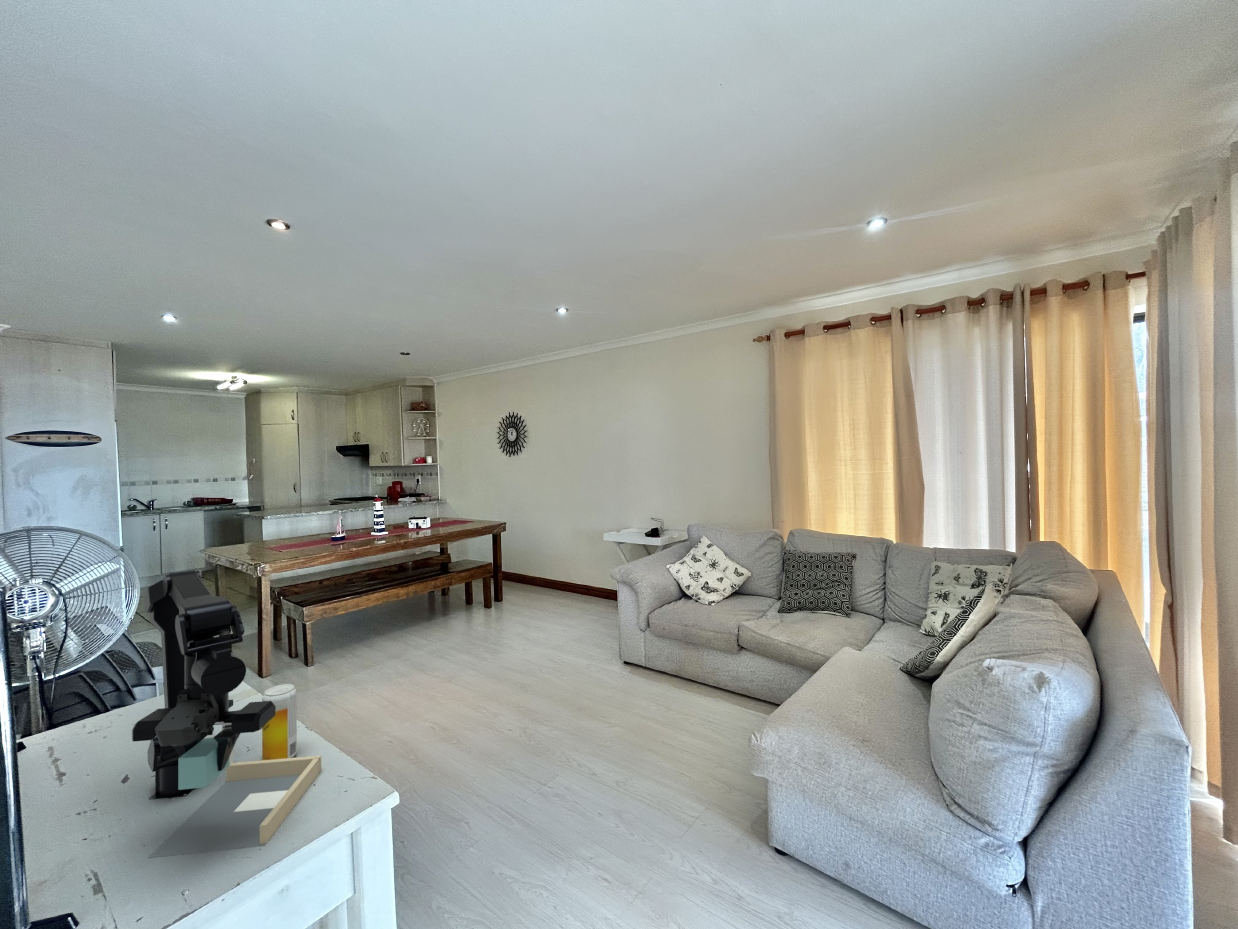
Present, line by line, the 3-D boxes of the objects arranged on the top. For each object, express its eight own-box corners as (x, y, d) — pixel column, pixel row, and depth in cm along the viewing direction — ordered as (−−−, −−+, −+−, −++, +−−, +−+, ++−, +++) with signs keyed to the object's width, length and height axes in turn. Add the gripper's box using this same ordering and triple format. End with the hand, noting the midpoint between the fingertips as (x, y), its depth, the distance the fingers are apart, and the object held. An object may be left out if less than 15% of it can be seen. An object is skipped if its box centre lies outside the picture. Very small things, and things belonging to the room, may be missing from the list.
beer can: (273, 752, 109) (273, 683, 109) (302, 751, 110) (302, 682, 110) (255, 769, 103) (255, 696, 103) (286, 767, 104) (286, 695, 104)
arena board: (147, 861, 79) (147, 838, 79) (229, 781, 99) (229, 763, 99) (264, 849, 81) (264, 827, 81) (321, 773, 101) (321, 755, 101)
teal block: (178, 790, 80) (178, 758, 80) (207, 764, 87) (207, 735, 87) (206, 787, 80) (206, 756, 80) (233, 762, 87) (233, 733, 87)
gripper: (101, 704, 74) (101, 809, 74) (238, 695, 77) (239, 796, 77) (158, 674, 85) (158, 765, 85) (277, 667, 88) (277, 755, 88)
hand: (207, 771), depth 84 cm, fingers closed on teal block, 4 cm apart
